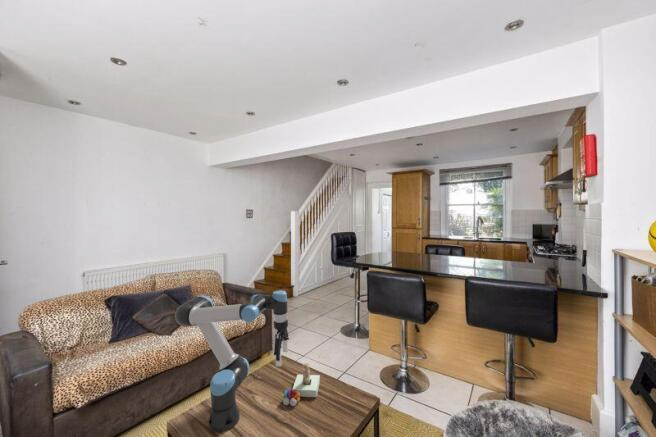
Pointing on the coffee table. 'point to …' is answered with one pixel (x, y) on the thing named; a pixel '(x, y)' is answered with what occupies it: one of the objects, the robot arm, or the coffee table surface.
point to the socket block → (307, 386)
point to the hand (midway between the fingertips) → (282, 358)
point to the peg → (306, 374)
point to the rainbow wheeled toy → (291, 397)
